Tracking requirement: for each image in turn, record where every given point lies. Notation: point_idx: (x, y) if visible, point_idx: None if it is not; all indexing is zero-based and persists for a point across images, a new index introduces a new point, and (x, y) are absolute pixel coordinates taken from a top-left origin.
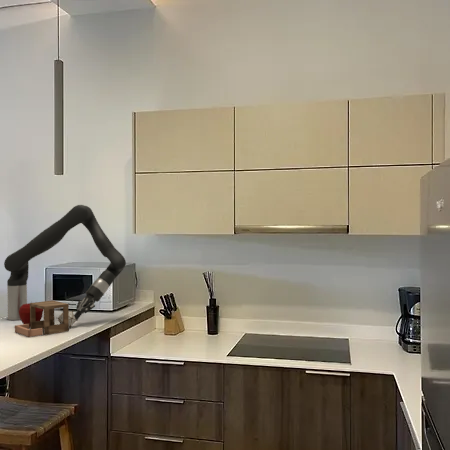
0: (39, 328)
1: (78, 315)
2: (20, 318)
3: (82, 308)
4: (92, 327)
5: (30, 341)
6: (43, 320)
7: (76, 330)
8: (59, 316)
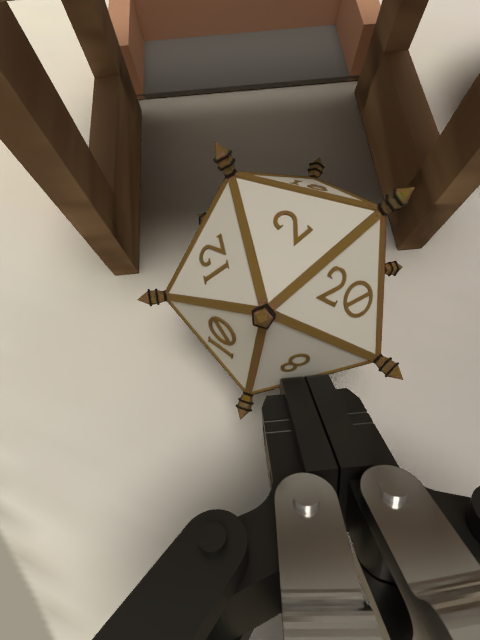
0: (119, 33)
1: (265, 439)
2: None
3: (244, 553)
4: (93, 546)
5: (20, 22)
6: (421, 112)
7: (88, 339)
8: (311, 181)
